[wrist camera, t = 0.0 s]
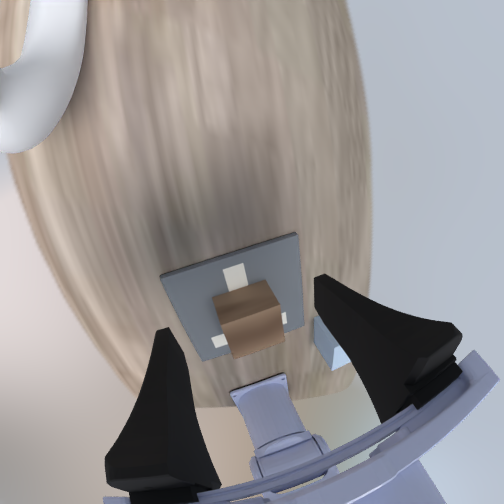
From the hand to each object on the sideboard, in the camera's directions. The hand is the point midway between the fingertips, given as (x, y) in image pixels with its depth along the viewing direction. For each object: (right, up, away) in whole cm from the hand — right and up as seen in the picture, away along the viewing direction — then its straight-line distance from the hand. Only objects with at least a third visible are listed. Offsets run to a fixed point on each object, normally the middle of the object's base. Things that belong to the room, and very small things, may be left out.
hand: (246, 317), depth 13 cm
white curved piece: (-12, +19, -3) cm, 23 cm away
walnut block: (-1, -2, +13) cm, 13 cm away
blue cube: (+10, -6, +20) cm, 23 cm away
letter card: (-1, -2, +13) cm, 14 cm away
